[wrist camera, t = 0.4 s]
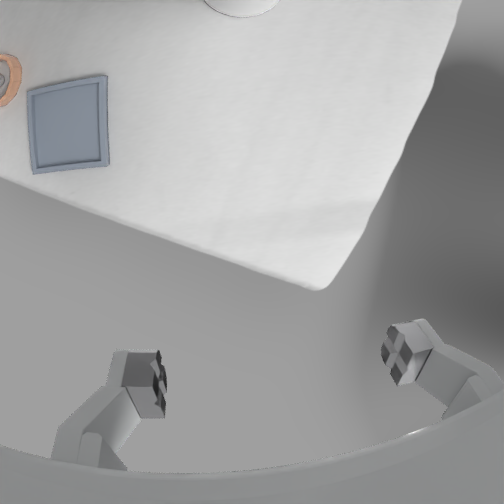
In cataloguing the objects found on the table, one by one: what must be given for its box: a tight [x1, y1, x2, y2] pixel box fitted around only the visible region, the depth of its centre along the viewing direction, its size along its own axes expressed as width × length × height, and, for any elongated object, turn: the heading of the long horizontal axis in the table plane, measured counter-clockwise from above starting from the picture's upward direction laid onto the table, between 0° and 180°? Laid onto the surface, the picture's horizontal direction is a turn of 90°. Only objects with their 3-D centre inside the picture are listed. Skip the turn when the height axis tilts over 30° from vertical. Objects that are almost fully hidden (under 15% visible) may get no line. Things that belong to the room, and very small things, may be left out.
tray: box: [27, 76, 110, 174], centre depth 44 cm, size 16×16×2 cm
